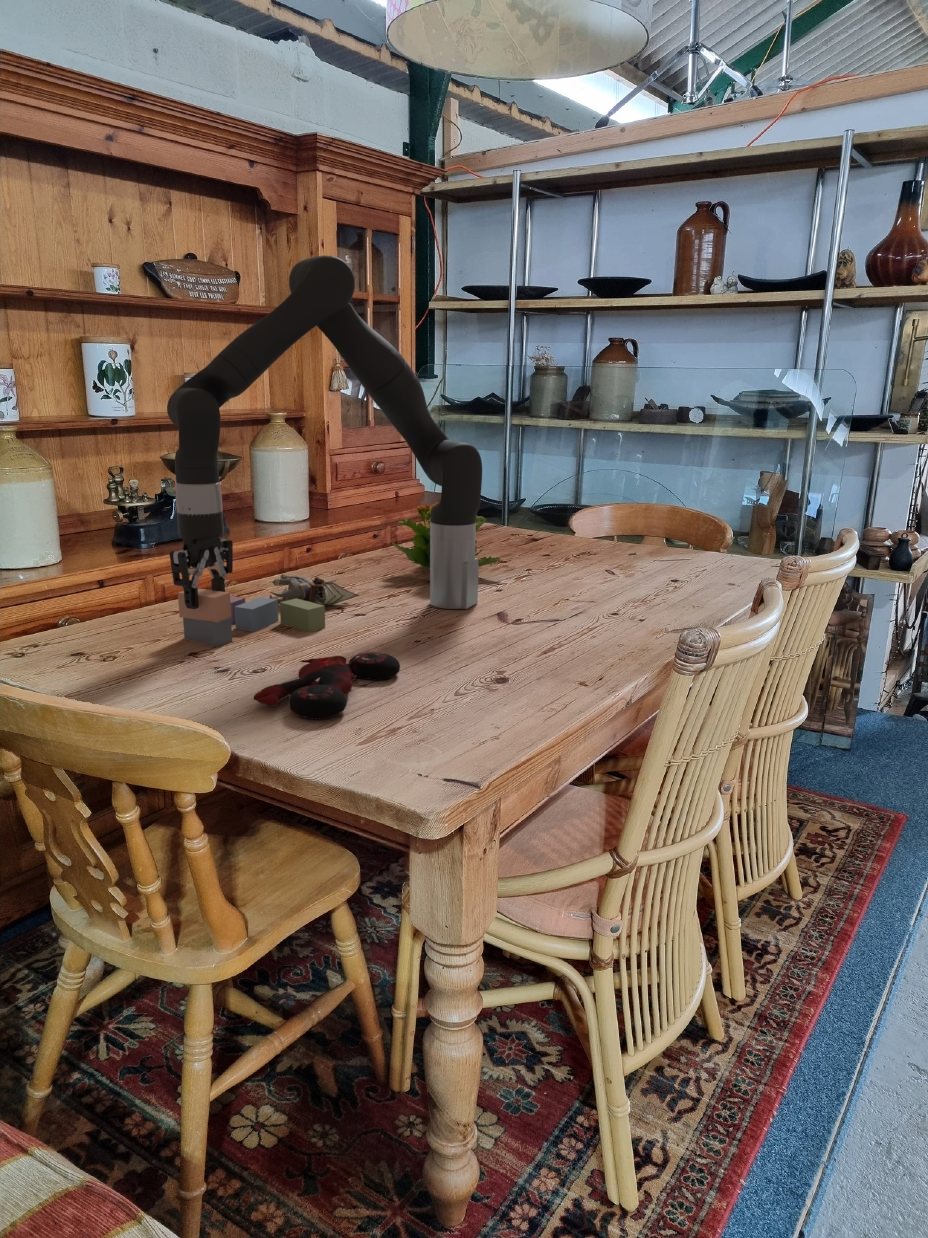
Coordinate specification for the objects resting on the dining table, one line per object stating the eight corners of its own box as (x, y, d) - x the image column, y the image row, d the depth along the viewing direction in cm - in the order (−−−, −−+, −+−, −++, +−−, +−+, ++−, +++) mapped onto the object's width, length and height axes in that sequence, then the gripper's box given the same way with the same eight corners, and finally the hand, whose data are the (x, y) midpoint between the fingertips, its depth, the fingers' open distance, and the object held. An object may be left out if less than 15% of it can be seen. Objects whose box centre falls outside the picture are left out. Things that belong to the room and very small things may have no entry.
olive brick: (325, 628, 163) (324, 605, 162) (309, 632, 160) (308, 609, 159) (297, 620, 168) (296, 598, 167) (280, 624, 165) (279, 602, 164)
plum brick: (246, 620, 168) (244, 598, 167) (233, 625, 164) (231, 602, 163) (212, 615, 171) (210, 593, 170) (198, 620, 167) (197, 597, 166)
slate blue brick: (261, 619, 169) (260, 597, 167) (278, 621, 167) (277, 599, 166) (235, 629, 162) (234, 606, 160) (253, 632, 160) (252, 609, 159)
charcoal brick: (232, 642, 154) (230, 618, 153) (214, 647, 151) (212, 623, 150) (202, 634, 158) (201, 610, 157) (184, 639, 155) (182, 615, 154)
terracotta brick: (231, 616, 154) (229, 592, 152) (216, 622, 150) (215, 597, 149) (194, 611, 157) (193, 587, 155) (179, 616, 153) (177, 592, 152)
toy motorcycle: (405, 680, 141) (320, 652, 146) (409, 650, 139) (323, 624, 144) (327, 741, 119) (229, 706, 123) (331, 707, 117) (231, 673, 121)
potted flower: (519, 571, 212) (521, 500, 207) (475, 591, 192) (477, 512, 187) (430, 560, 223) (430, 492, 218) (380, 578, 203) (379, 503, 198)
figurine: (300, 566, 191) (371, 573, 186) (300, 593, 192) (371, 600, 188) (254, 580, 172) (332, 588, 168) (254, 610, 173) (332, 618, 169)
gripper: (189, 516, 140) (196, 616, 145) (243, 505, 153) (248, 597, 158) (152, 513, 143) (160, 611, 148) (209, 502, 156) (214, 592, 160)
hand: (205, 603), depth 153 cm, fingers open, 6 cm apart
